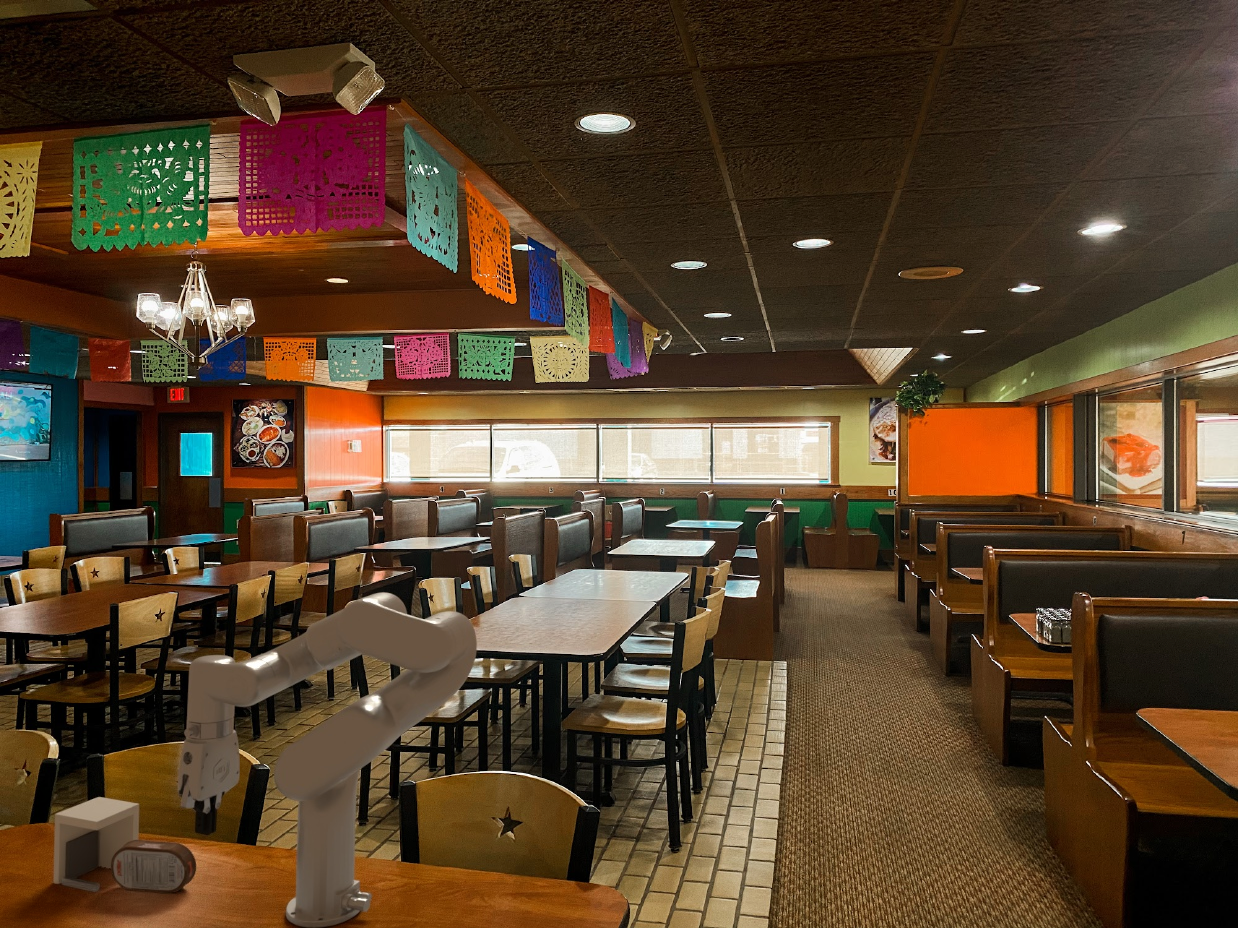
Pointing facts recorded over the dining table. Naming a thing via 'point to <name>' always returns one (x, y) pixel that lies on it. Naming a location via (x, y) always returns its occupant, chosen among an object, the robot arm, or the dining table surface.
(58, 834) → the white u-channel
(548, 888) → the dining table surface
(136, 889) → the tin
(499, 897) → the dining table surface
